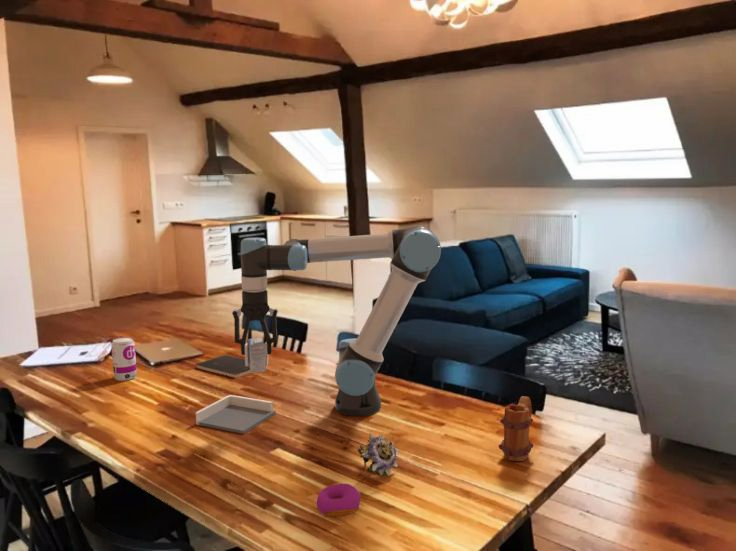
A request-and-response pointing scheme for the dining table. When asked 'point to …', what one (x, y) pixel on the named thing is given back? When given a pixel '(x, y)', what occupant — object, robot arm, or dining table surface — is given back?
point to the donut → (338, 500)
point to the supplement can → (124, 359)
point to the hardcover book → (226, 366)
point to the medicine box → (256, 355)
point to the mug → (517, 430)
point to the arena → (235, 414)
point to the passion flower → (379, 454)
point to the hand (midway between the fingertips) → (256, 364)
